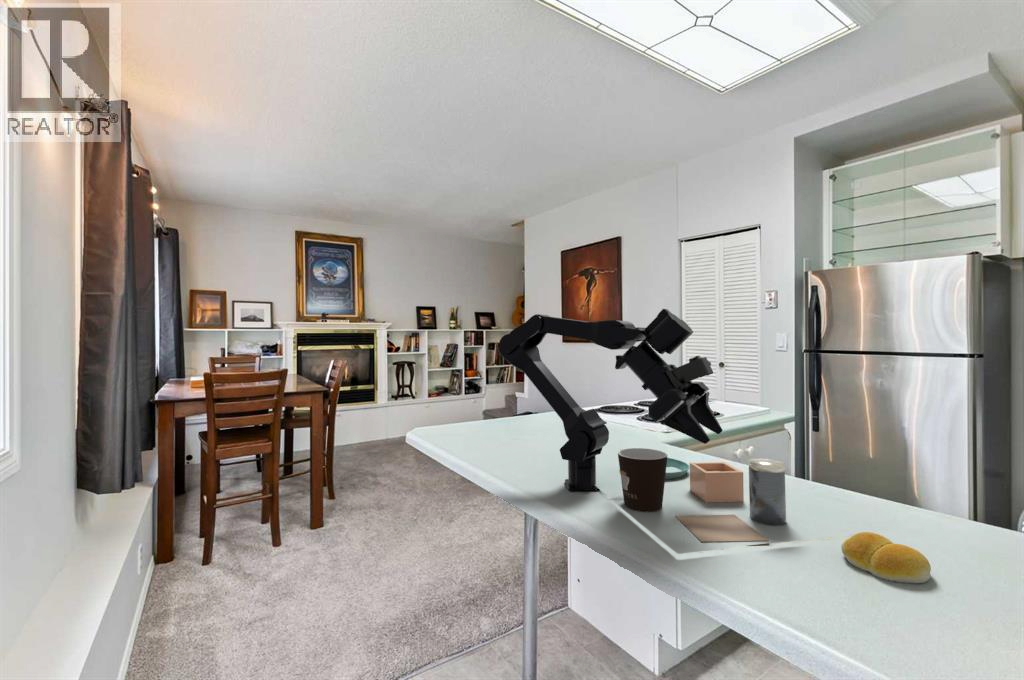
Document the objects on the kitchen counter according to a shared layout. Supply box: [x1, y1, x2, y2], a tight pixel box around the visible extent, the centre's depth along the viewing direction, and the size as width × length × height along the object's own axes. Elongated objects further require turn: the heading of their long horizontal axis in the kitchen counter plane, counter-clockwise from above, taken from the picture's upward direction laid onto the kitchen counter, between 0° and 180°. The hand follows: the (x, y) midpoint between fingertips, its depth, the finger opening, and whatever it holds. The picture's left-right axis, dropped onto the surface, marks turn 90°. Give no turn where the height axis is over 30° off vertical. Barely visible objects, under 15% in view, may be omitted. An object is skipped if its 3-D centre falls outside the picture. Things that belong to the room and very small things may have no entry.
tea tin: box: [748, 458, 787, 527], centre depth 75 cm, size 5×5×10 cm
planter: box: [689, 461, 745, 503], centre depth 87 cm, size 7×7×6 cm
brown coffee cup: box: [617, 447, 668, 513], centre depth 84 cm, size 12×9×10 cm
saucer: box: [665, 457, 690, 480], centre depth 104 cm, size 15×15×3 cm
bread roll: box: [841, 531, 932, 584], centre depth 60 cm, size 8×9×4 cm
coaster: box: [675, 514, 770, 547], centre depth 72 cm, size 10×10×1 cm
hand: (714, 437), depth 80 cm, fingers open, 9 cm apart
